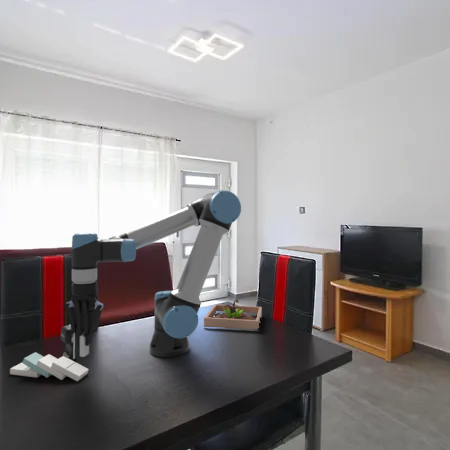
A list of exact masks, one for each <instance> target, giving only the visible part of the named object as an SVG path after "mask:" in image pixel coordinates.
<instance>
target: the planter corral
mask: <svg viewBox="0 0 450 450" xmlns="http://www.w3.org/2000/svg"><path fill="white" fill-rule="evenodd" d="M225 305H226V304H214V305H213V306H212V307H211V308H210V309H209V311H208V312H207V313H206V315H205V316H204V317H203V328H204V327H225V328H243V329H258V328H259V329H260V326H259V323H260V324H261V321H260V318H261V319H262V313H263V312H262V311H263V310H262V308H263V307H262V306H250V305H236V304H235V307H239V308H240V310H243V311H242V312H247V313H249V312H250V313H251V312H252V311H253V312H254V313H255V314H257V317H256V318H255V320H242V319H226V318H212V317H213V316H214V315H215V313H216V311H224V310H226V311H228V309H229V310H230V308H229V306H226V308H225V309H223V307H224V306H225ZM230 306H231V307H233V304H231V305H230ZM236 309H238V308H236ZM238 312H239V311H238Z"/></svg>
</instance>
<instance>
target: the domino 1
mask: <svg viewBox="0 0 450 450" xmlns="http://www.w3.org/2000/svg"><path fill="white" fill-rule="evenodd" d="M43 357H44V356H43V355H42V354H40V353H38V352H36V351H35V352H33V353H31V354H29V355H28V356H26V357H24V358H23V360H22V362H21V363H23V364H25V365H26V366H28V367H30V368H31V369H33V370H35V371H36V372H38V373H40V374H41V375H40V376H44V377H45V378H49V377H51V376H53V375H52V374H50V373H49V372H47V371H45V370H43V369H42V368H40V367H38V366H36V364H37V362H38V360H39V359H41V358H43Z"/></svg>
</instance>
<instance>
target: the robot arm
mask: <svg viewBox="0 0 450 450" xmlns="http://www.w3.org/2000/svg"><path fill="white" fill-rule="evenodd" d="M241 212H242V204H241V201H240V199H239V198H238V196H237V194H235V193H234V192H232V191H229V190H221V189H220V190H217V191H215V192H210V193H207V194H205V195H204V196H201V197H200V198H198V199H196V200H195V201H192V202H189V203H187V204H186V207H185V208H182V209H179V210H177V211H174V212H172V213H169V214H167V215H165V216H162V217H160V218H158V219H157V218H156V219H155V220H152V221H150V222H148V223H145V224H143V225H140V226H138V227H135V228H132V229H130V230H128V231H125V232H122V233H120V234H118V235H114V236H111V237H109V238H107V239H106V238H105V239H103V238H99V237H98V234H97V233H95V232H78V233H74V234H73V235H72V238H71V239H72V240H71V282H72V283H71V295H72V297H71V299H70V301H68V302H65V303H64V307H65V309H66V311H67V315H68V320H69V325H70V326H71V331H72V333H76V336H77V345H78V346H79V357H80V358H81V357H82V358H84V357H86V356H87V355H90V345H91V344H92V335H93V334H95V333H97V332H98V329H99V324H100V320H101V316H102V312H103V309H104V308H105V307H106V304H105V303H104V302H103V303H102V302H100V301H99V298H98V295H97V294H98V281H97V280H98V263H118V262H119V263H126V262H127V263H128V262H133V261H135V260H136V256H137V250H138V249H141V248H143V247H146V246H148V245H150V244H153V243H154V242H157V241H160V240H162V239H164V238H166V237H169V236H171V235H174V234H176V233H179V232H181V231H183V230H186V229H188V228H190V227H193V226H194V227H199V226H200V228H199V230H198V234H197V236H196V237H195V241H194V243H193V246H192V248H191V251H190V253H189V256H188V258H187V261H186V264H185V266H184V269H183V271H182V273H181V276H180V278H179V280H178V283H177V286H176V288H175V289H173V290H164V291H157V292H156V293H155V294H154V301H153V302H154V331H153V335H152V338H151V340H150V344H149V353H150V354H151V355H153V356H155V357H158V358H174V357H175V358H176V357H179V356H182V355H184V354H187V353H188V352H189V350H190V343H189V340H188V336H191V335H192V334H193V333H194V332H195V331H196V329H197V327H198V324H199V315H198V312H199V309H200V307H201V304H202V302H201V299H200V295H201V292H202V290H203V288H204V285H205V282H206V279H207V277H208V275H209V272H210V269H211V267H212V264H213V261H214V259H215V257H216V256H215V255H217V251H218V249H219V246H220V244H221V241H222V239H223V236H224V235H225V234H227V233H229V231H230V229H231V227H232V224H233V223H235V221H237V220H238V218H239V217H240V215H241ZM187 351H188V352H187Z"/></svg>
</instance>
